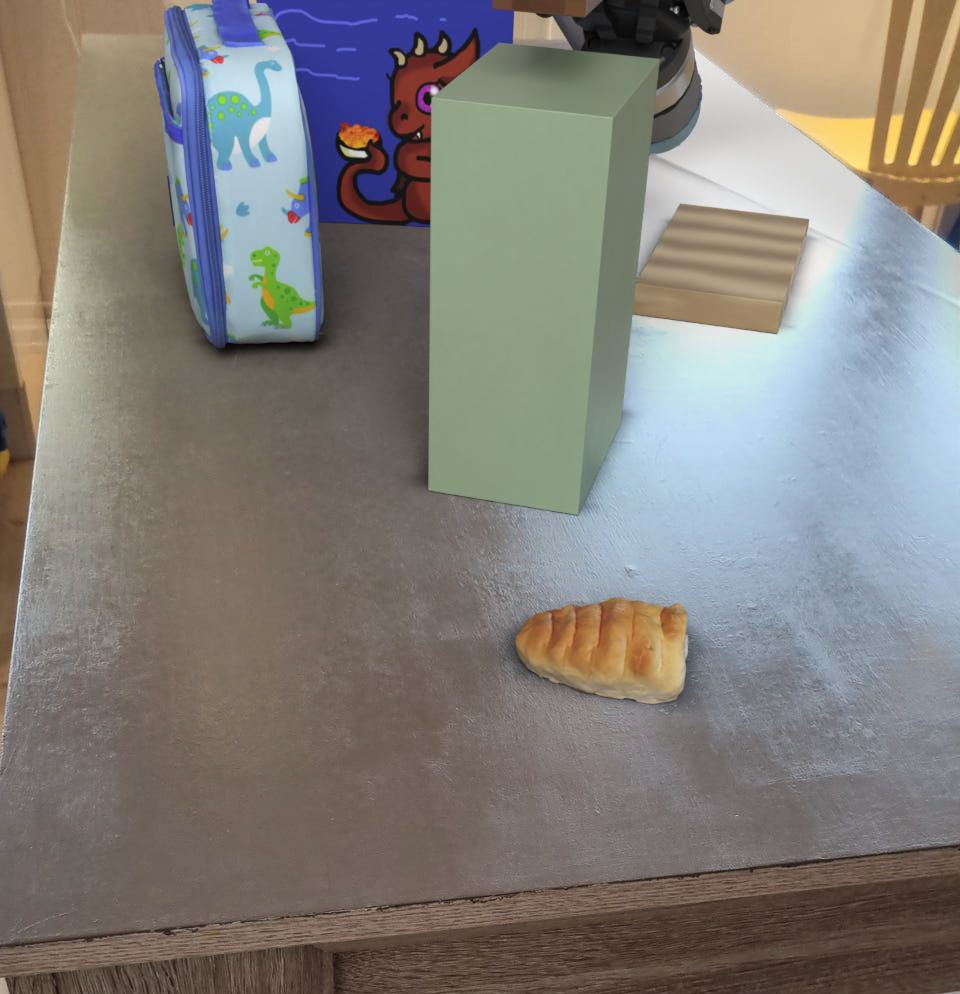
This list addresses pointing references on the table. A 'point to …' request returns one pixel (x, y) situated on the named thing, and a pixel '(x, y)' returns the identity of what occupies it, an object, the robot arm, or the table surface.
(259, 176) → the lunch box
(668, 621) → the pastry
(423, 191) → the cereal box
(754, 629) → the table surface
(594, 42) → the robot arm
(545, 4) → the walnut mallet
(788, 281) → the maple board
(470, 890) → the table surface
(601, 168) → the plinth
